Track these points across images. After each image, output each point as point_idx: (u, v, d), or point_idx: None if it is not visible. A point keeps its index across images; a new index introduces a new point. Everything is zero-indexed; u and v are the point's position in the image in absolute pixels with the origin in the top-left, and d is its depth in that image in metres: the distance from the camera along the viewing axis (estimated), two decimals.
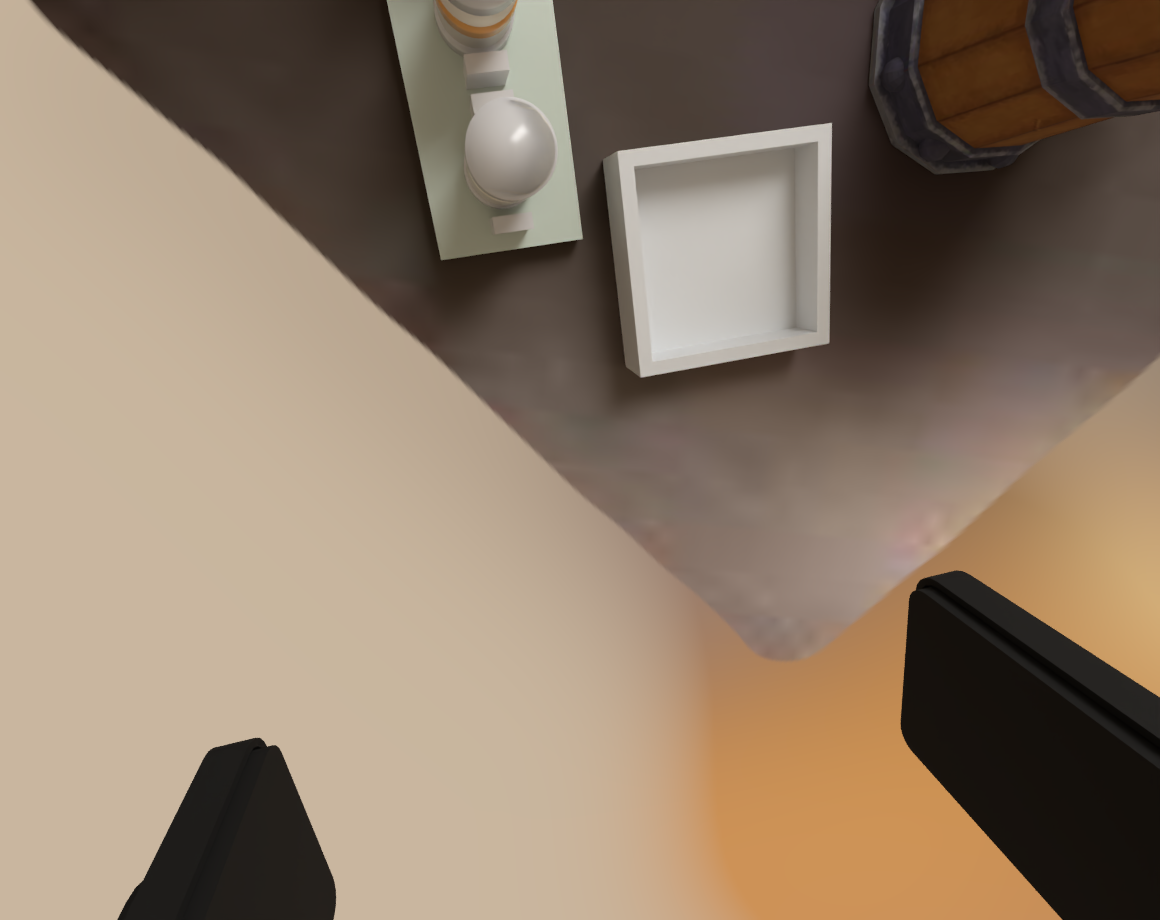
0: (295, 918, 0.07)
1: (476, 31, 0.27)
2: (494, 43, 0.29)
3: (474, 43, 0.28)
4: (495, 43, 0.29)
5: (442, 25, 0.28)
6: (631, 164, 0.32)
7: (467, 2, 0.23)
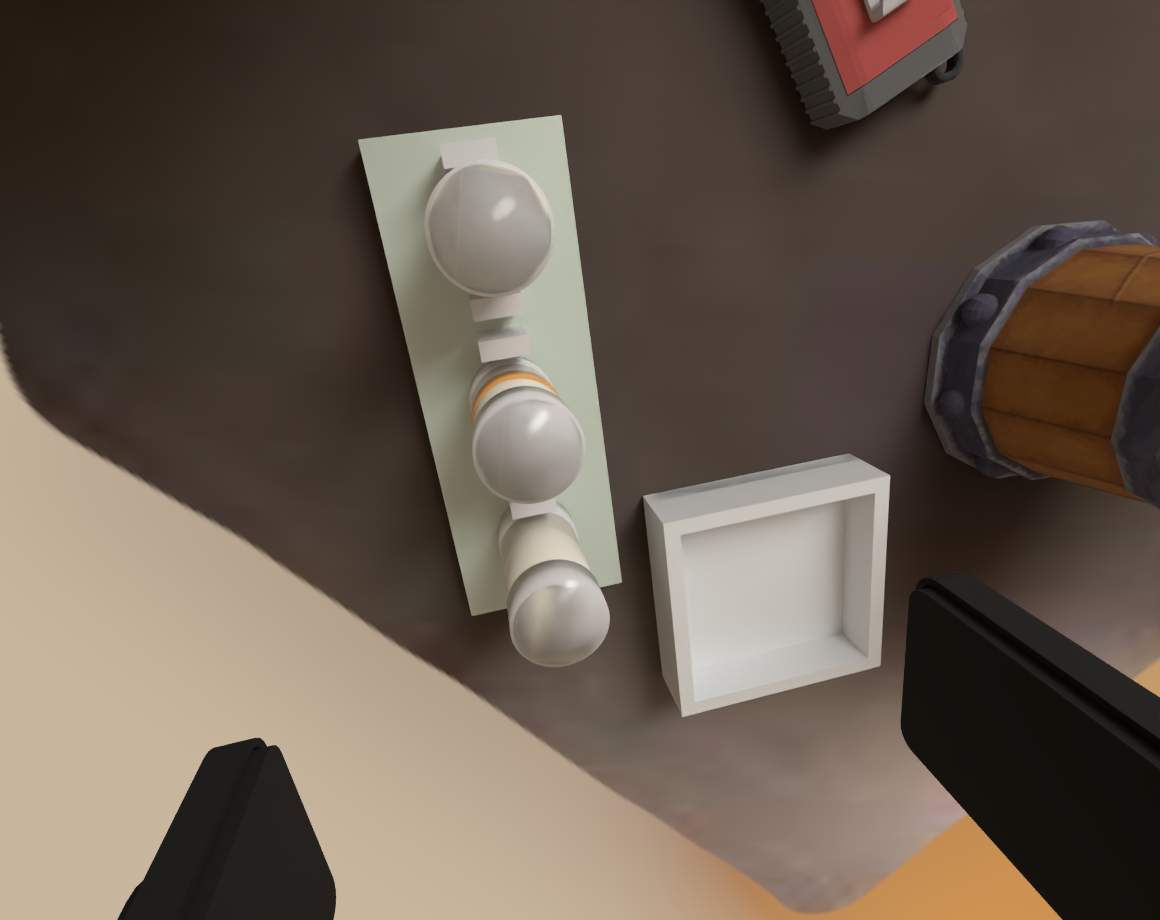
0: (295, 918, 0.07)
1: None
2: None
3: None
4: None
5: None
6: (677, 533, 0.29)
7: None
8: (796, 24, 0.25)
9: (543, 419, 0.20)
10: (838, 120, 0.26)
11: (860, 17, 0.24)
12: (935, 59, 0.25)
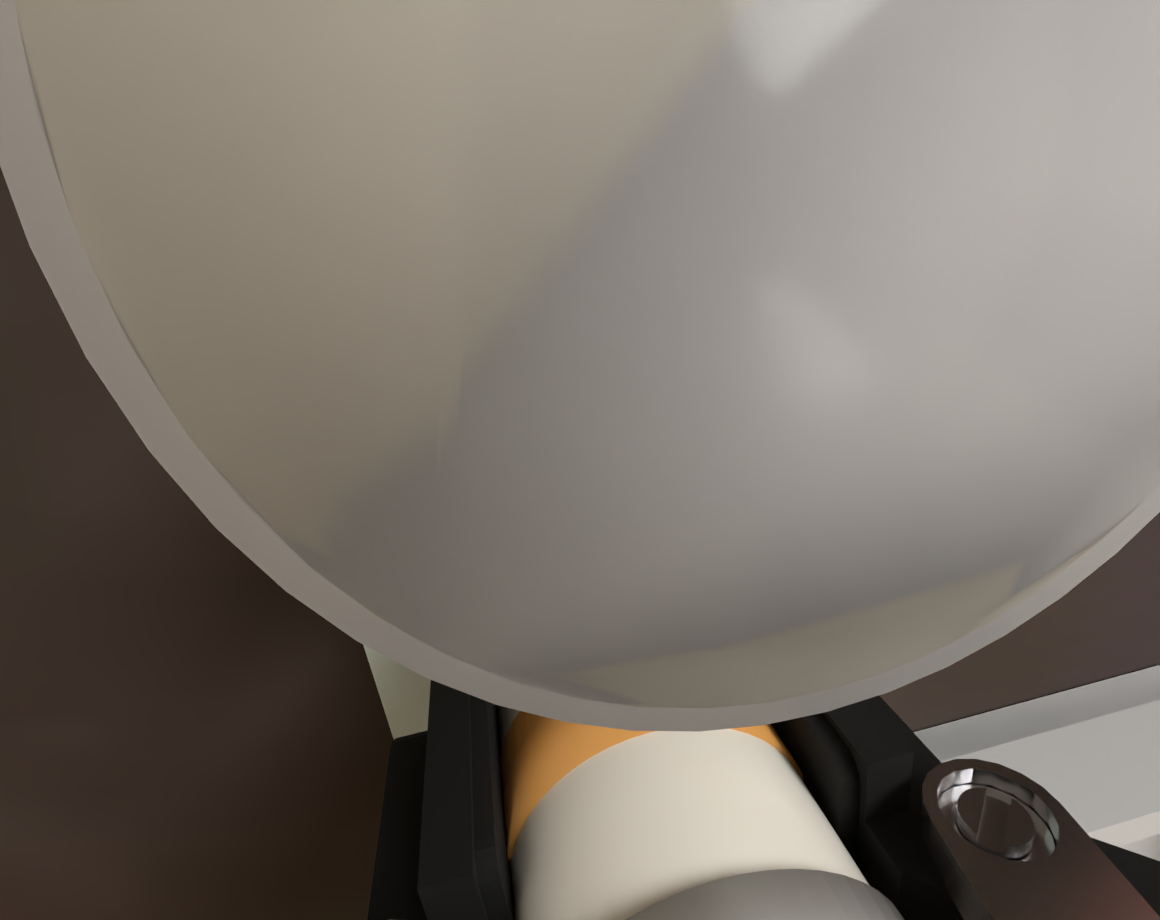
0: None
1: None
2: None
3: None
4: None
5: None
6: None
7: None
8: None
9: None
10: None
11: None
12: None
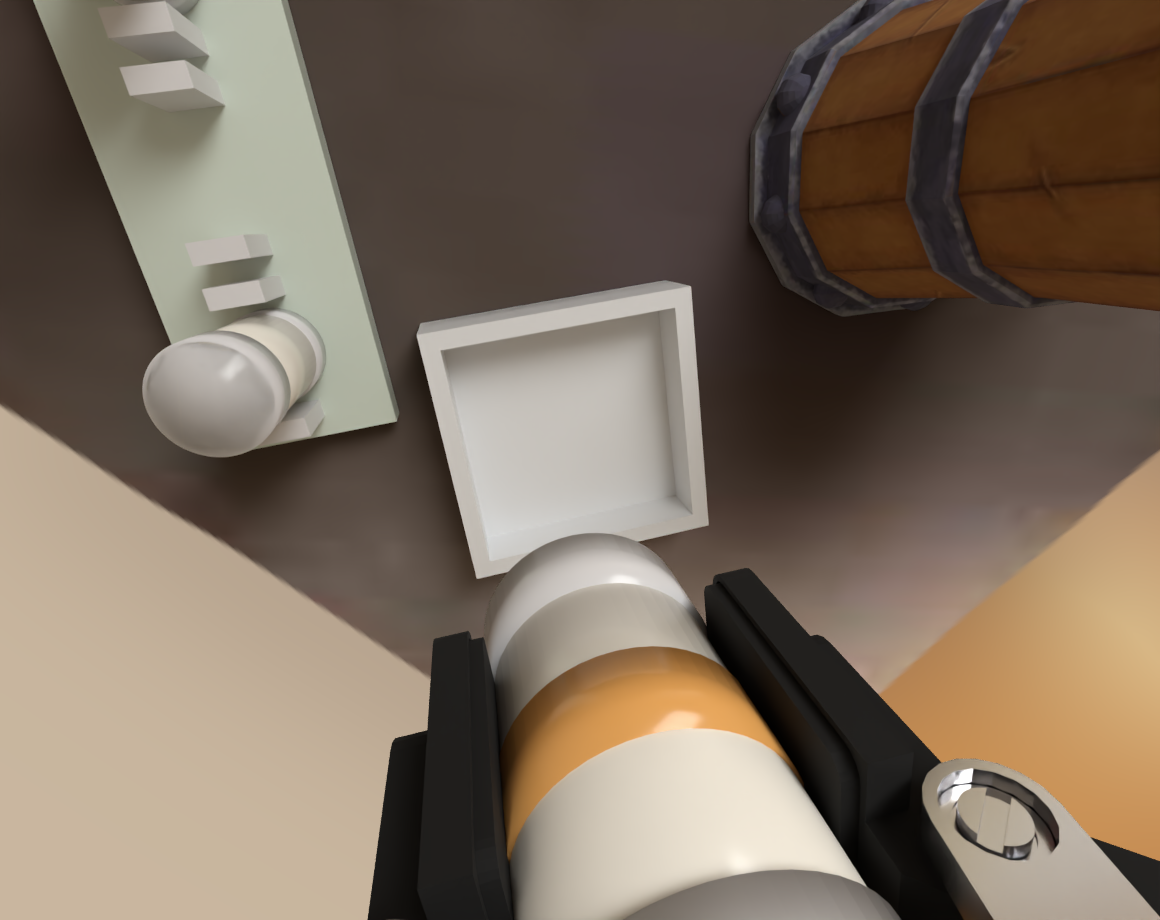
0: None
1: None
2: None
3: None
4: None
5: None
6: (436, 348, 0.25)
7: None
8: None
9: None
10: None
11: None
12: None
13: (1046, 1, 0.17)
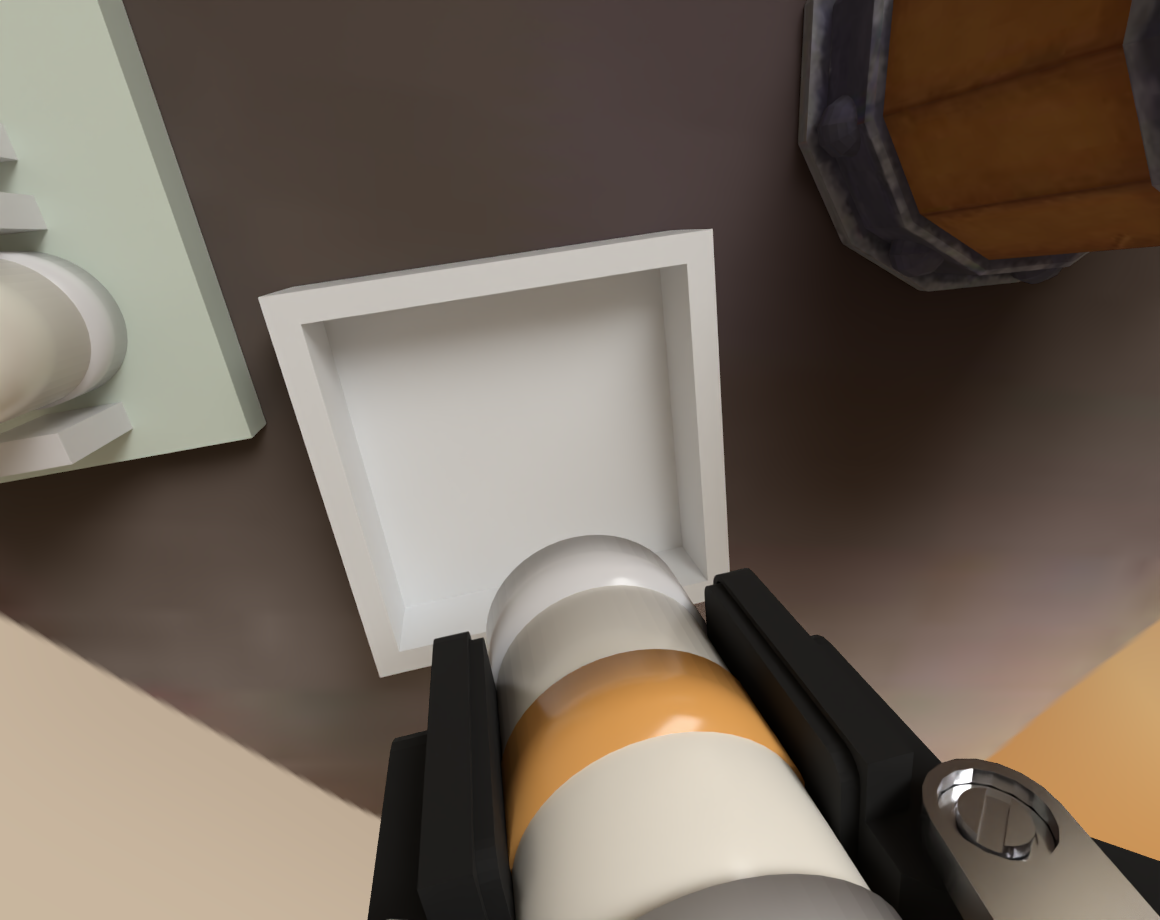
0: None
1: None
2: None
3: None
4: None
5: None
6: (294, 320, 0.15)
7: None
8: None
9: None
10: None
11: None
12: None
13: None
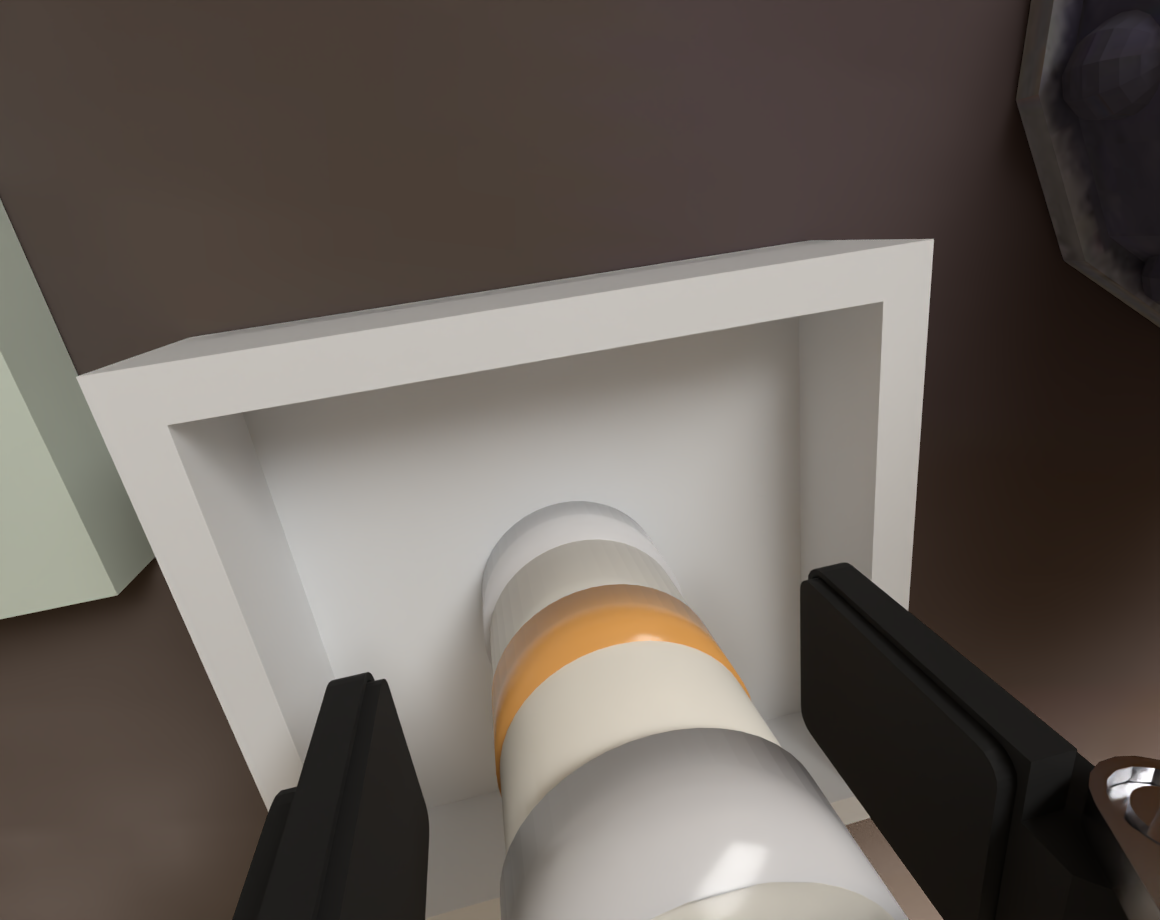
0: (407, 830, 0.08)
1: None
2: None
3: None
4: None
5: None
6: (154, 418, 0.08)
7: None
8: None
9: None
10: None
11: None
12: None
13: None
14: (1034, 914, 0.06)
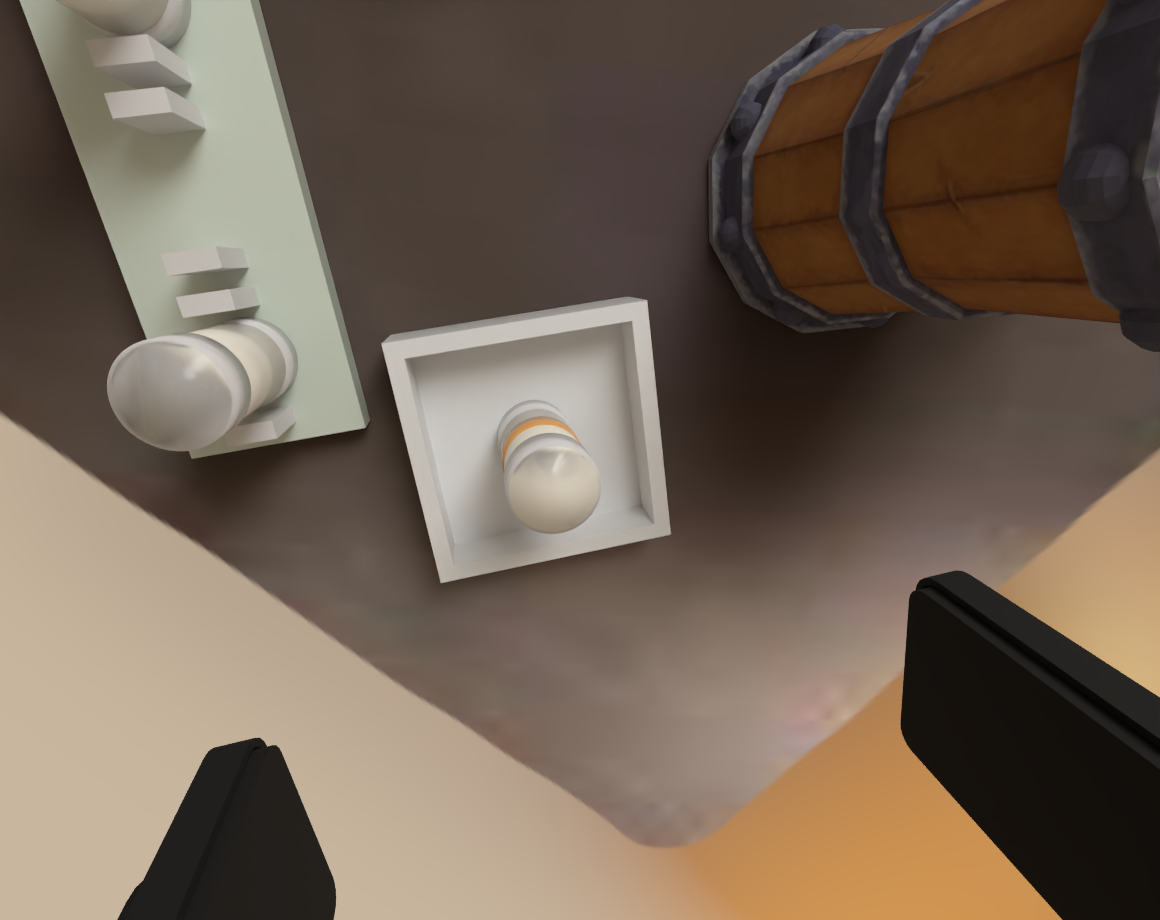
0: (295, 918, 0.07)
1: None
2: None
3: None
4: None
5: None
6: (400, 356, 0.27)
7: None
8: None
9: (565, 462, 0.24)
10: None
11: None
12: None
13: (952, 31, 0.18)
14: None
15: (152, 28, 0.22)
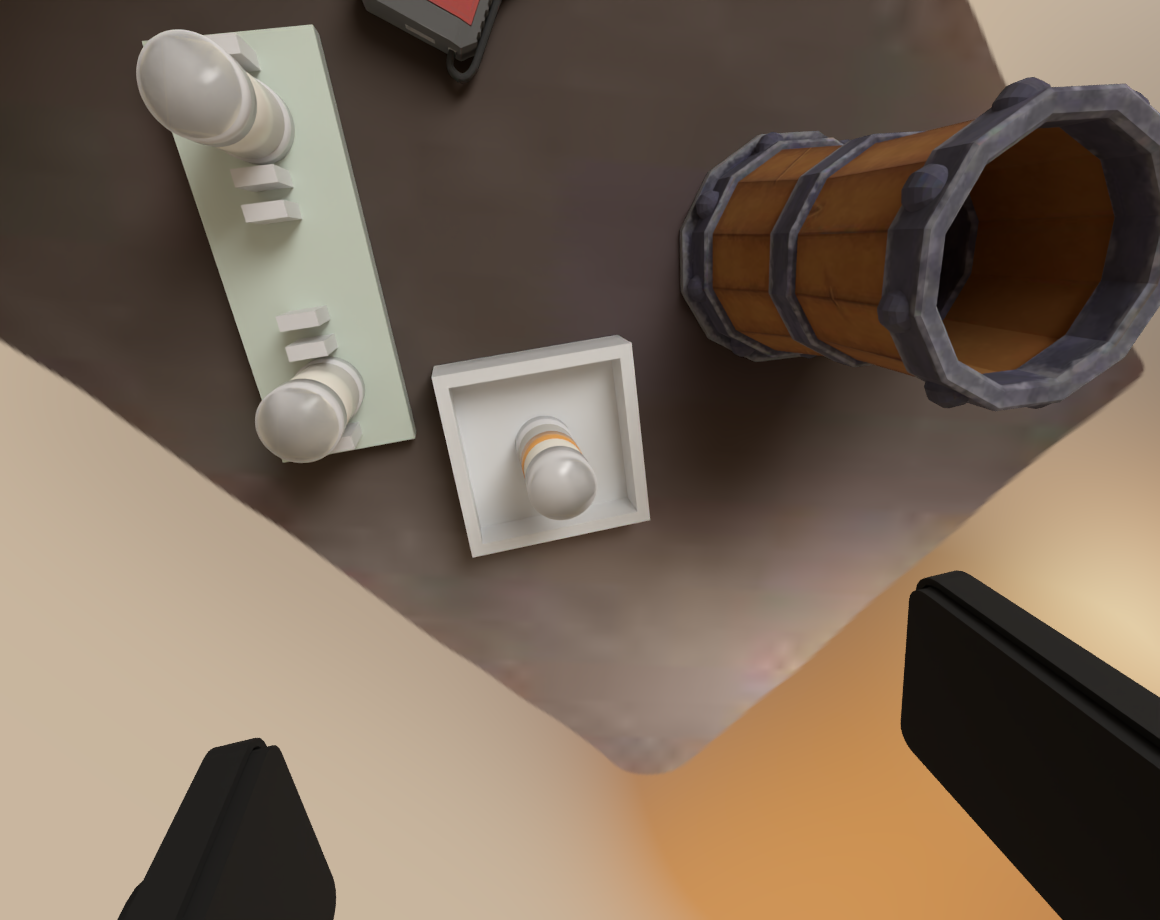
0: (295, 918, 0.07)
1: None
2: None
3: None
4: None
5: None
6: (445, 386, 0.35)
7: None
8: None
9: (571, 468, 0.33)
10: None
11: None
12: (434, 24, 0.30)
13: (836, 180, 0.27)
14: None
15: (271, 154, 0.30)
